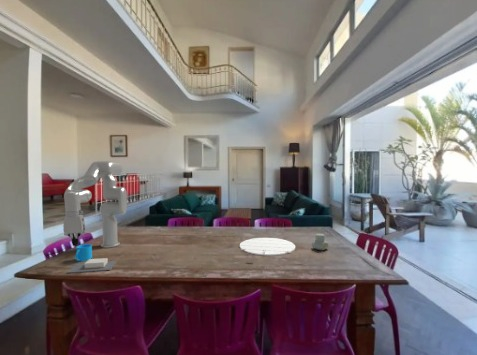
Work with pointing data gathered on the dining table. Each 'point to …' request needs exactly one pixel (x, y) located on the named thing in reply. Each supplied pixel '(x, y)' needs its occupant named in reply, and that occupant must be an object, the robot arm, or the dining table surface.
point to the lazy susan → (267, 246)
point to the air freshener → (319, 242)
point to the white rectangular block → (96, 263)
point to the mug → (83, 252)
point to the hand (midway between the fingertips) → (75, 244)
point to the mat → (81, 268)
